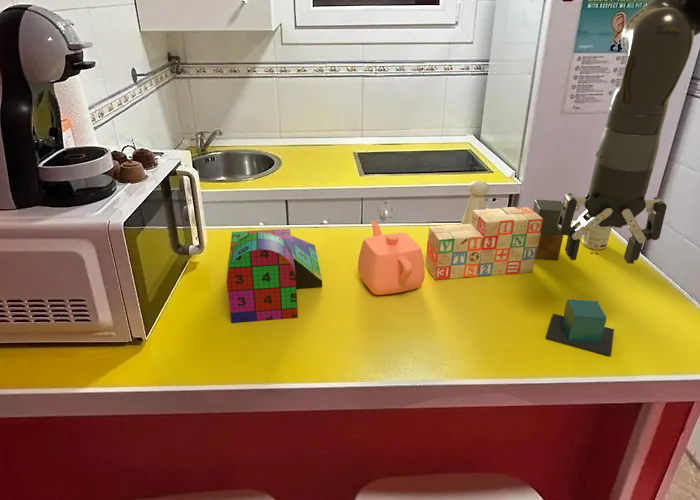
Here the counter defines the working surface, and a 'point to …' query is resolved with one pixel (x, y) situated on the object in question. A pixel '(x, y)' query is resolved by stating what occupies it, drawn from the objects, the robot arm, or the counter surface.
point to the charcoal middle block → (548, 215)
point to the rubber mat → (559, 335)
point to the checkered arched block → (269, 274)
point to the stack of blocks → (485, 244)
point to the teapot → (390, 262)
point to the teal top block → (583, 320)
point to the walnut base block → (549, 246)
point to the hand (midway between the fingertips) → (599, 259)
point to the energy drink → (597, 237)
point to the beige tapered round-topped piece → (475, 200)
